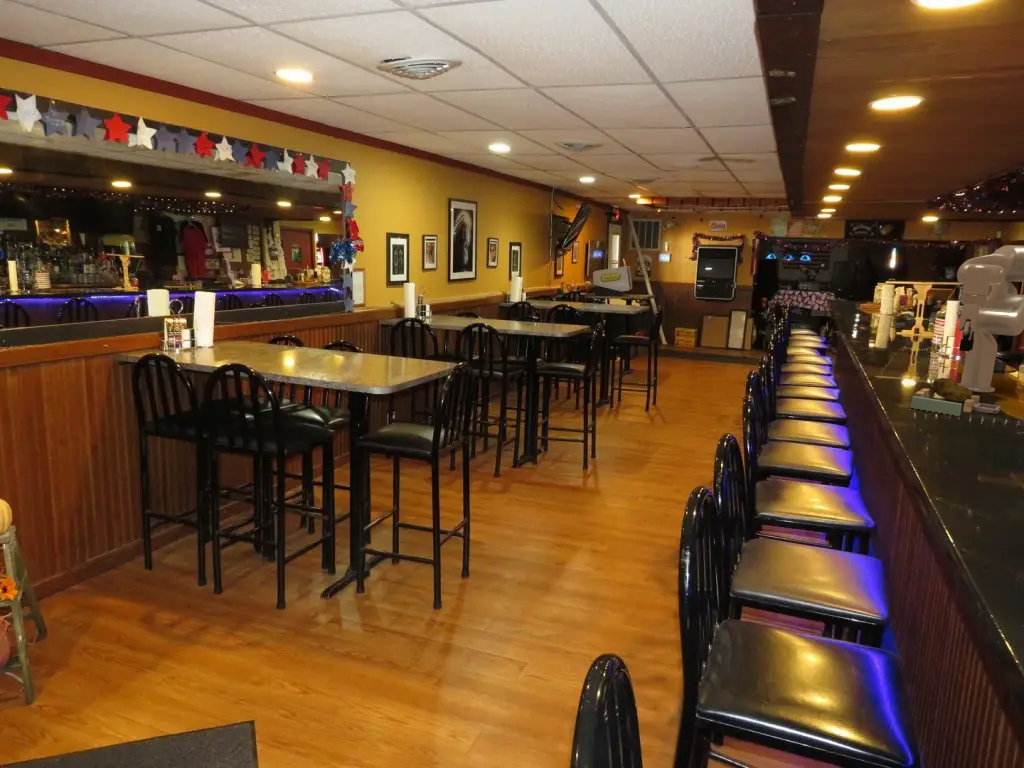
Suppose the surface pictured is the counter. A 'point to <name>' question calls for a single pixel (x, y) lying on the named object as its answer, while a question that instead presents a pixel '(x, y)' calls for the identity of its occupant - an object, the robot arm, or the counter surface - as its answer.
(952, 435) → the counter surface
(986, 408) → the grey tray
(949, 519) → the counter surface
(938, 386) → the potato
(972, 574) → the counter surface
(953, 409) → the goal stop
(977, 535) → the counter surface
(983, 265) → the robot arm
